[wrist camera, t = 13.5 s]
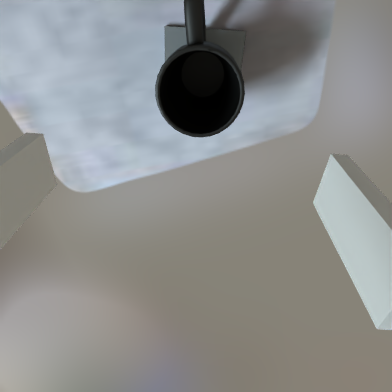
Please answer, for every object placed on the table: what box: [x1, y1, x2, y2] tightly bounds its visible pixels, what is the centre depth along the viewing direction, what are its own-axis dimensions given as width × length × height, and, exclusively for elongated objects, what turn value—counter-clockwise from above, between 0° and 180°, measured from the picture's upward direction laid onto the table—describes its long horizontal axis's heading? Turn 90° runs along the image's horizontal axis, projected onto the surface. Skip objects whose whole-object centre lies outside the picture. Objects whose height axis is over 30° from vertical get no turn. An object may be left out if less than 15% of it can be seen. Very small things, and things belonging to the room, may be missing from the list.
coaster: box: [165, 26, 246, 71], centre depth 33 cm, size 9×9×1 cm
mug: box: [155, 0, 245, 137], centre depth 28 cm, size 8×12×10 cm
